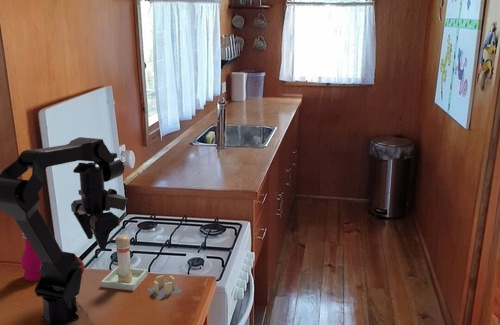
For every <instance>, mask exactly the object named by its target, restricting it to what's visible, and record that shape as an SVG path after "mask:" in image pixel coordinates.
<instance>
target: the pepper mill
mask: <svg viewBox="0 0 500 325" xmlns="http://www.w3.org/2000/svg"><path fill="white" fill-rule="evenodd" d="M19 229H20V230H21V228H20V227H19ZM21 232H22V239H24V243H25V244H24V246H25V248H24V250H23V253H22V256H21V260H20V266H21V268H22V269H23V270H24V271H23V278H24V280H25V281H29V282H38V281H39V279H40V277H41V273H40V267H41V260H40V259H39V257H38V256H37V254H36V252H35V251H34V249H33V248H32V246H31V244H30V243H29V241H28V240H27V238H26V236H25V235H24V233H23V231H21Z"/></svg>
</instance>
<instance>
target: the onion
mask: <svg viewBox="0 0 500 325" xmlns="http://www.w3.org/2000/svg"><path fill="white" fill-rule="evenodd" d="M76 257H77V260H78V262H79V263H81V266H80V267H81V270H82V275H83V274H84V272H85V263H84V261H82V259H81V258H79V257H78V256H77V255H76Z"/></svg>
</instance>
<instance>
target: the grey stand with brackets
mask: <svg viewBox="0 0 500 325" xmlns="http://www.w3.org/2000/svg"><path fill="white" fill-rule="evenodd" d="M164 276H165V275H164V274H163V275H159V276H156V277H155V278H156V279H155V280H153V286H151V287H149V288H146V291H148V292H149V293H150V294H151V295H153V296H154V298H156V299H157V300H163V299H165V298H168V297H172V296H174V295H177V294H182V293H183V292H184V291H183V290H182V289H180V288H179V287H178V286H177V285H176V283H175V282H176V281H175V278H174V277H173V276H172V275H169V281H167V282H165V277H164Z"/></svg>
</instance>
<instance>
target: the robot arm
mask: <svg viewBox="0 0 500 325" xmlns="http://www.w3.org/2000/svg"><path fill="white" fill-rule="evenodd" d="M78 161H81V162H78ZM72 162H78V164H77V165H76V167H75V168H73V171H72V172H73V173H74V174H79V183H80V186H79V187H80V189H79V190H78V195H79V196H80V197H81V199H76V200H73V202H71V204H70V206H71V212H72V213H73V215H74V217H75V218H76V220H77V222H78V223H79V226H80V227H81V229H82V231H83V232H84V234H85V236H86V238H87V239H88V240H92V239H93V238H94V239H95V241H96V243H97V245H98V248H99V250H100V251H105V250H106V249H107V246H108V245H107V244H108V242H109V238H110V234H111V231H112V230H113V229H114V230H115V229H116V228H117V227H119V226H120V223H121V222H120V217H119V216H117V215H116V214H115V213H114V212H112V211H111V209H115V210H120V211H125V210H126V206H127V203H128V198H127V197H126V196H123V195H121V194H118V191H117V190H116V189H114V188H109V189H108V190H106V189H105V183H107V182H109V181H112V180H114V179H116V178H119V177H121V176H122V175H123V174H124V172H125V165H124V163H123V161H122V160H121V159H120V158H119V157H118V153H116V152H111V151H110V150H109V148H108V147H107V145H106V144H105V142H104V140H103V139H102V138H94V137H93V138H92V137H83V136H81V137H76V138H74V139H72V140H70V141H69V143H67V144H62V145H56V146H50V147H42V148H36V149H26V150H23V151H22V152H20V154H19V155H18V157H17V158H16V160H14V161H12V163H11V164H9V165H8V166H7V167H6V168H4V169H2V171H1V173H0V211H2V212H4V213H5V214H7V215H8V216H9V217H11V218H13V219H14V220H15V222H16V223H17V225H18V227H19V229H20V228H21V229H20V230H21V232H23V233H24V235H25V236H26V238H27V240H28V241H29V243H30V244H31V246H32V248H33V249H34V251H35V252H36V254H37V256H38V257H39V259H40V260H41V267H40V273H41V277H40V279H39V280H37V283H36V285H35V288H34V290H33V291H34V293H35V295H36V297H39V298H42V307H43V316H41V320H42V321H43V322H44V323H46V325H66V324H69V323H71V322H74V321H75V320H78V319H80V315H79V314H78V304H77V296H78V295H79V294H80V290H81V289H80V288H81V283H82V278H83V277H82V276H83V274H82V270H81V267H80V266H81V263H79V262H78V260H77V257H78V256H77V255H76V254H75V253H74V252H69V251H62V249H61V247H60V245H59V243H58V242H57V240H56V238H55V236H54V235H53V233H52V231H51V229H50V227H49V226H48V224H47V223H46V220H45V218H44V216H43V215H42V214H41V212H40V209H39V206H40V200H41V197H40V194H39V193H40V191H41V190H42V187H43V186H44V184H45V170H46V169H47V168H48V167H53V166H58V165H64V164H69V163H72ZM86 162H87V163H86ZM29 169H31V175H30V177H29V179H21V178H20V177H22V175H24V174H25V173H26V172H27V171H29ZM76 256H77V257H76Z"/></svg>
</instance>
